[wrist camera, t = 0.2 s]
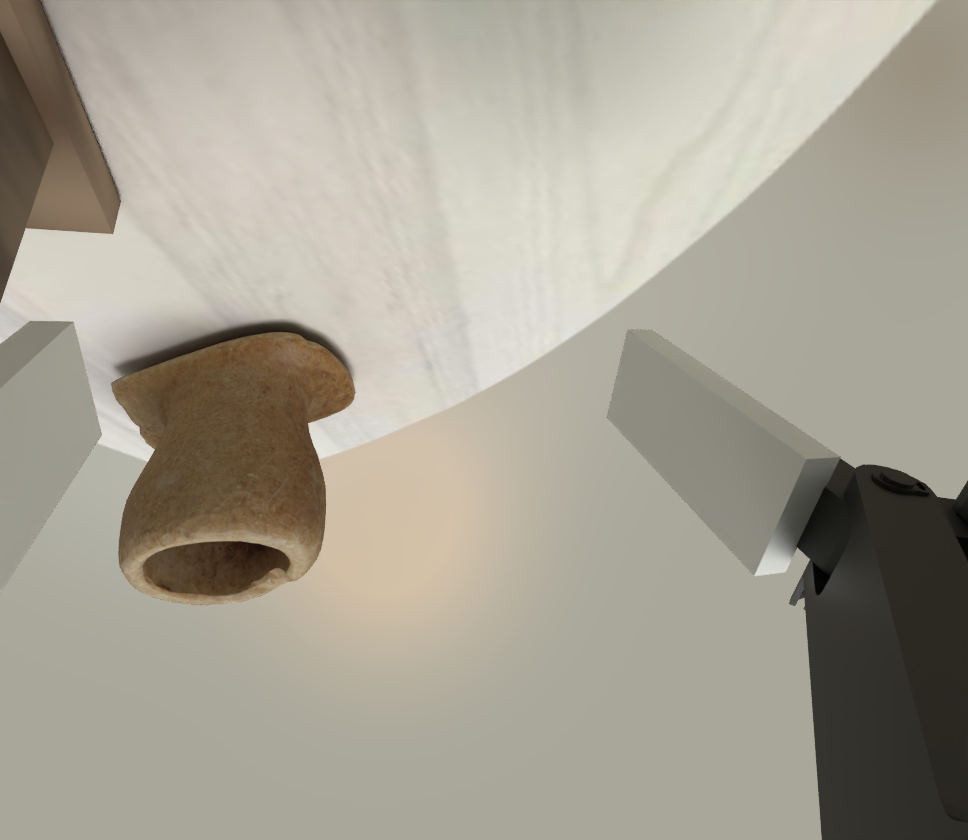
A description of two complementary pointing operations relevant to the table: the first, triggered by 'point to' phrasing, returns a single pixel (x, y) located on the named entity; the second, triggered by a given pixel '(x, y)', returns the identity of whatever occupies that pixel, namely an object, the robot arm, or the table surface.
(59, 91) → the frame
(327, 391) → the brown clay vessel
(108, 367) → the table surface
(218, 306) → the table surface
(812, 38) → the table surface
